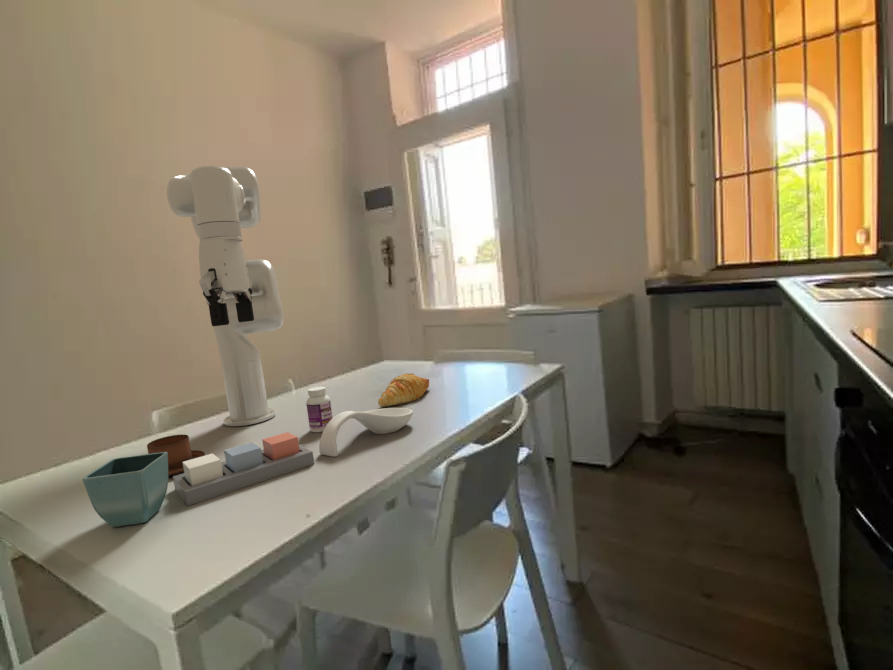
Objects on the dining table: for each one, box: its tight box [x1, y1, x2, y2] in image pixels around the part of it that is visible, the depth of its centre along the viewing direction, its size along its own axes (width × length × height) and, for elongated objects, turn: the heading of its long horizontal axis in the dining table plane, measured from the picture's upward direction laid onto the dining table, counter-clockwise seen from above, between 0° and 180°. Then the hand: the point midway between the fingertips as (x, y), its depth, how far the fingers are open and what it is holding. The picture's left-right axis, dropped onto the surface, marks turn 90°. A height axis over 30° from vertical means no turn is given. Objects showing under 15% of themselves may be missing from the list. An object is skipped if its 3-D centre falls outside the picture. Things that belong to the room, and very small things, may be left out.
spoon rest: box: [318, 407, 414, 458], centre depth 111 cm, size 24×12×7 cm, turn 145°
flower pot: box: [81, 452, 169, 528], centre depth 82 cm, size 9×9×9 cm
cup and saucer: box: [146, 434, 206, 477], centre depth 103 cm, size 12×12×6 cm
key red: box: [261, 432, 300, 460], centre depth 100 cm, size 5×5×3 cm
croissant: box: [377, 373, 430, 407], centre depth 141 cm, size 21×10×8 cm, turn 148°
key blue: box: [223, 442, 263, 472], centre depth 95 cm, size 5×5×3 cm
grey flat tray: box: [172, 444, 315, 507], centre depth 96 cm, size 10×22×2 cm, turn 129°
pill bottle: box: [305, 386, 333, 433], centre depth 120 cm, size 5×5×10 cm
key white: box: [183, 452, 223, 486], centre depth 91 cm, size 5×5×3 cm
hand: (234, 323), depth 102 cm, fingers open, 9 cm apart
